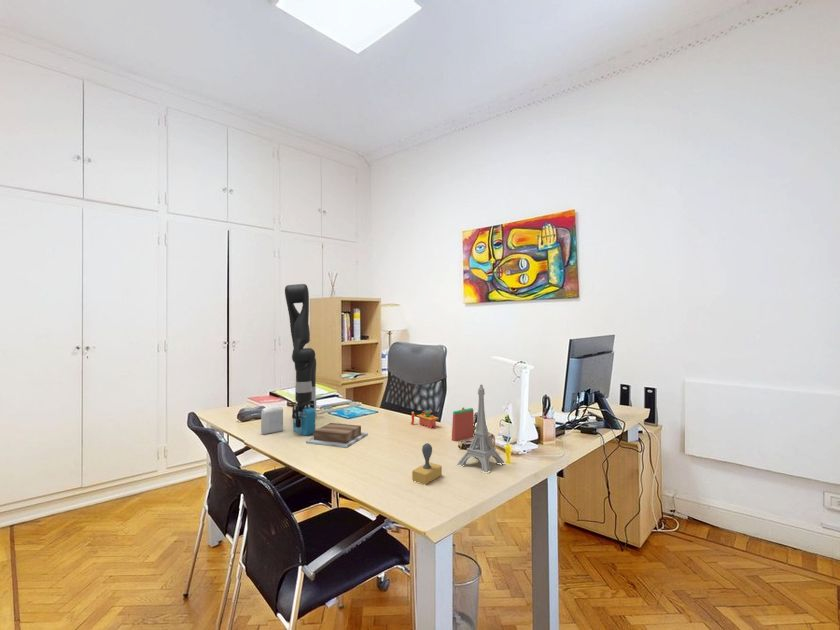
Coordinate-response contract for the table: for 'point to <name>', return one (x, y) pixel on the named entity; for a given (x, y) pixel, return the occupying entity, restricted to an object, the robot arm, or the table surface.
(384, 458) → the table surface
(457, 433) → the toy building block set
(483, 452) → the eiffel tower
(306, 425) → the data package
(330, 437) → the base
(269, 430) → the photo printer
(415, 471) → the rubber stamp
